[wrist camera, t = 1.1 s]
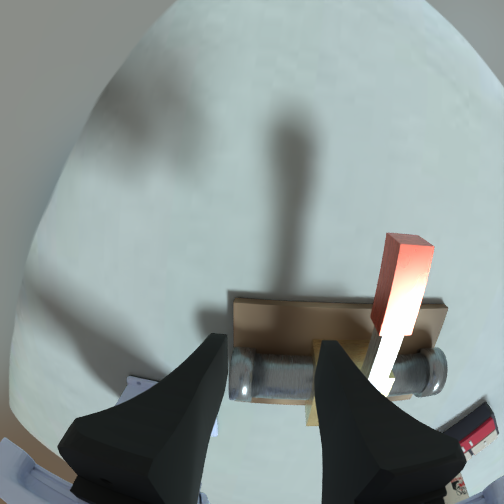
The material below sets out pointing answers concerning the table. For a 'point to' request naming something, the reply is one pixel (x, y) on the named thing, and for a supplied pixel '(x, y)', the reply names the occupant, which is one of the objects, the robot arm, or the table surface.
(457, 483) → the teacup with lid
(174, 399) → the robot arm
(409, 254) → the lever
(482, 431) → the calculator
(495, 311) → the table surface
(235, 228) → the table surface
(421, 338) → the board
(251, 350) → the valve
